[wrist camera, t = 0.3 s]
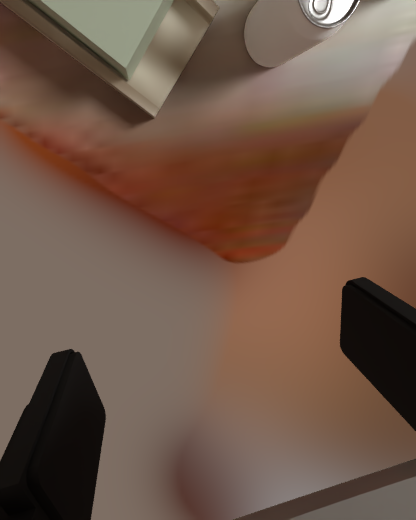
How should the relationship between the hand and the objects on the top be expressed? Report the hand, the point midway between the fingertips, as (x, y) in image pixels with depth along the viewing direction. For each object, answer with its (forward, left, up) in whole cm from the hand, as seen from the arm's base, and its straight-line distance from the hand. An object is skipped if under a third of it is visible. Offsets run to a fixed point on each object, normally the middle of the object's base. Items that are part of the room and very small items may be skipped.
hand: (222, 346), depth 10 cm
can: (-22, 0, -30) cm, 37 cm away
